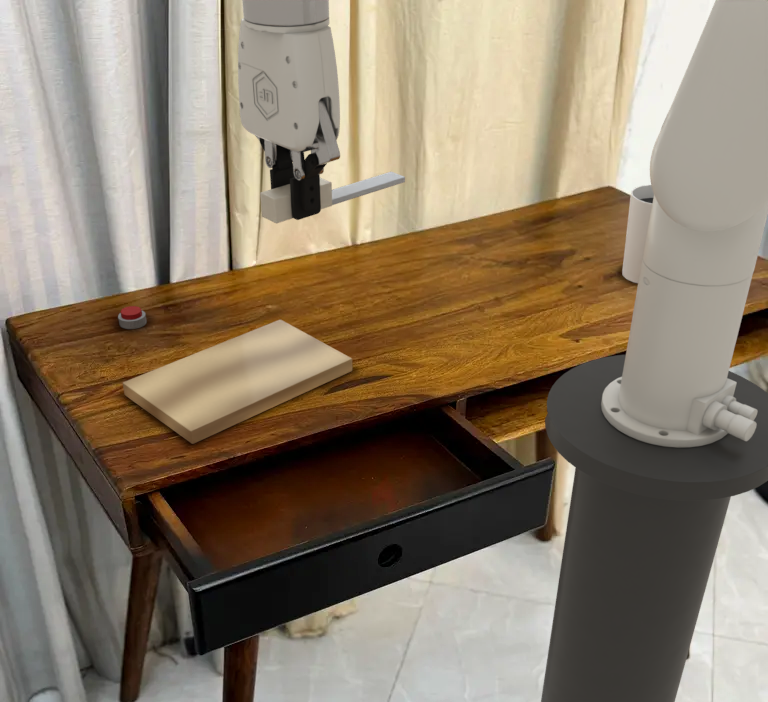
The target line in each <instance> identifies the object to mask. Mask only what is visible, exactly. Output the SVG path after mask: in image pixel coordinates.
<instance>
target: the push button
mask: <svg viewBox="0 0 768 702" xmlns="http://www.w3.org/2000/svg"><path fill="white" fill-rule="evenodd" d="M117 320H118V324H119V327H120V328H122V329H125V330H134V329H140V328H142V327H144V326H146V324H147V322H148V321H147V315H146V312H145V311H144V310H143V309H142V308H141V307H139V306H136V305H129V306H125V307H123V308H121V310H120V312H119V314H118V316H117Z"/></svg>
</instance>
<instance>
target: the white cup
mask: <svg viewBox="0 0 768 702" xmlns="http://www.w3.org/2000/svg"><path fill="white" fill-rule="evenodd" d="M653 198H654V193H653V189H652V185H651V184H643V185H639V186H636V187H634V188H633V189H632V190H631V191H630V198H629V208H628V216H627V223H626V224H627V225H626V233H625V234H626V236H625V244H624V251H623V252H624V253H623V260H622V261H623V263H622V270H621V273H622V276H623V278H624V279H626V280H627V281H630V282H632V283H633V284H638V281H639V275H640V270H641V264H642V258H643V253H644V247H645V241H646V235H647V230H648V225H649V219H650V214H651V209H652V203H653Z"/></svg>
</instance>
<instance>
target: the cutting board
mask: <svg viewBox="0 0 768 702" xmlns="http://www.w3.org/2000/svg"><path fill="white" fill-rule="evenodd" d="M351 372H353V358H352V357H350V356H348V355H346V354H344V353H343V352H341V351H339V350H337V349H335V348H334V347H332V346H330V345H328V344H326V343H324V342H323V341H321V340H319V339H317V338H315V337H314V336H312V335H310V334H309V333H307V332H305V331H302V330H301V329H299V328H298V327H295V326H294V325H292V324H290V323H288V322H286V321H284V320H282V319H278V320H275V321H273V322H270V323H268V324H265V325H262V326H260V327H258V328H255V329H252V330H250V331H248V332H245V333H243V334H240V335H238V336H236V337H233V338H230V339H228V340H225V341H223V342H220V343H217V344H215V345H212V346H210V347H208V348H205V349H202V350H200V351H198V352H196V353H193V354H191V355H187V356H186V357H183V358H179V359H178V360H175V361H173V362H171V363H168V364H165V365H162V366H160V367H158V368H155V369H152V370H151V371H148V372H145V373H143V374H141V375H138V376H135V377H133V378H130V379H128V380H125V381H123V382H122V388H123V394H124V396H125V397H127V398H128V399H129V400H131V401H132V402H133V403H135V404H136V405H138V406H139V407H140V408H142V409H143V410H145V412H147V413H148V414H150V415H151V416H153V417H154V418H155V419H157V420H158V421H160V422H161V423H162V424H164V425H165V426H167V427H168V428H170V430H172V431H173V432H175V433H176V434H177V435H179V436H180V437H182V438H183V439H185V440H186V441H187V442H188V443H190V444H192V445H194V444H196V443H199V442H201V441H203V440H205V439H207V438H210V437H211V436H214V435H216V434H218V433H220V432H222V431H225V430H227V429H229V428H231V427H233V426H235V425H237V424H240V423H242V422H244V421H247V420H248V419H250V418H252V417H255V416H258V415H260V414H261V413H263V412H266V411H268V410H270V409H272V408H275V407H276V406H279V405H281V404H283V403H286V402H287V401H290V400H292V399H295V398H296V397H298V396H301V395H303V394H305V393H307V392H309V391H311V390H314V389H316V388H318V387H320V386H323V385H324V384H326V383H327V384H328V383H329V382H331V381H333V380H335V379H338V378H340V377H342V376H344V375H346V374H349V373H351Z"/></svg>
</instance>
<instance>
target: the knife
mask: <svg viewBox="0 0 768 702" xmlns="http://www.w3.org/2000/svg"><path fill="white" fill-rule="evenodd" d="M405 182H406V177H405V176H404V175H401V174H399V173H396V172H394V171H388V172H386V173H382V174H378V175H375V176H372V177H369V178H365V179H362V180H359V181H356V182H353V183H349V184H346V185H343V186H339V187H336V188H333V185H332V183H333V182H331V181H330V180H327V179H325V178H322V177H320V199H321V210H323V209H327V208H330V207H332V206H334V205H338V204H340V203H344V202H348V201H350V200H353V199H356V198H359V197H363V196H366V195H370V194H372V193H375V192H378V191H382V190H385V189H389V188H391V187H394V186H397V185H400V184H403V183H405ZM259 197H260V213H261V217H262V218H264V219H266V220H268V221H270V222H272V223H274V224H280V223H283V222H285V221H289V220H293V219H294V218H293V217H292V209H291V194H290V184H288V185H284V186H281V187H278V188H274V189H271V188H270V189H267V190H264V191H261V192H259Z"/></svg>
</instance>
